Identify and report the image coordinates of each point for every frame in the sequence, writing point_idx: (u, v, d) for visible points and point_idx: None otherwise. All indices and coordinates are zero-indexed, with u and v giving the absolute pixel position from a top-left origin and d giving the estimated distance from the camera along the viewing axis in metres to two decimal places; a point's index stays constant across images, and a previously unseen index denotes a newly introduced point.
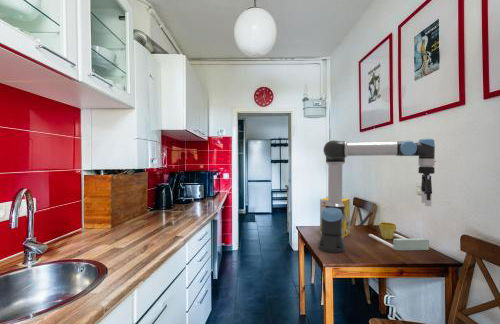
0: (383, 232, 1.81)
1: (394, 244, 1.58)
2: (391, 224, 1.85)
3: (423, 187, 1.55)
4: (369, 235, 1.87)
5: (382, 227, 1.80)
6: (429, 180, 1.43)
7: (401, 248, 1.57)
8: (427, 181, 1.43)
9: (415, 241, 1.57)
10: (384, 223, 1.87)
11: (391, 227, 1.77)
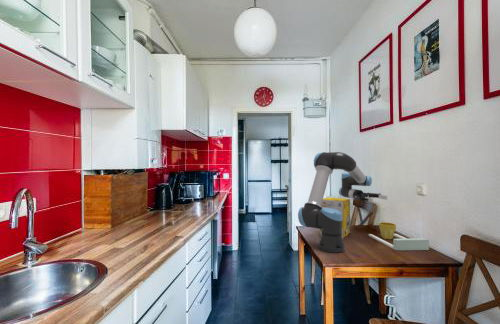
0: (383, 232, 1.81)
1: (394, 244, 1.58)
2: (391, 224, 1.85)
3: (363, 197, 1.91)
4: (369, 235, 1.87)
5: (382, 227, 1.80)
6: None
7: (401, 248, 1.57)
8: None
9: (415, 241, 1.57)
10: (384, 223, 1.87)
11: (391, 227, 1.77)
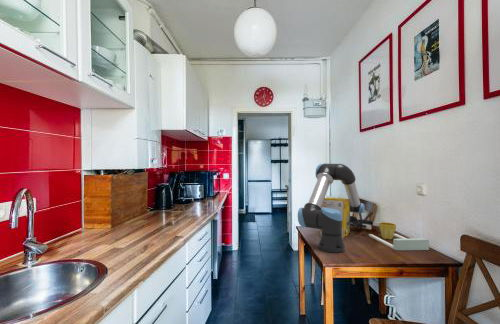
0: (383, 232, 1.81)
1: (394, 244, 1.58)
2: (391, 224, 1.85)
3: None
4: (369, 235, 1.87)
5: (382, 227, 1.80)
6: None
7: (401, 248, 1.57)
8: None
9: (415, 241, 1.57)
10: (384, 223, 1.87)
11: (391, 227, 1.77)
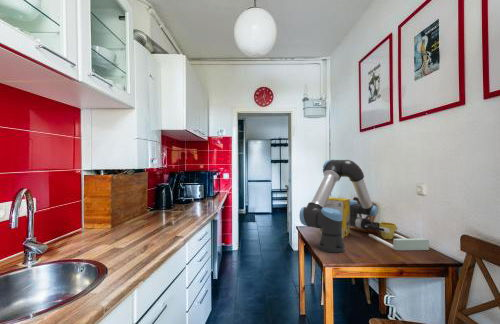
0: (383, 232, 1.81)
1: (394, 244, 1.58)
2: (391, 224, 1.85)
3: None
4: (369, 235, 1.87)
5: None
6: None
7: (401, 248, 1.57)
8: None
9: (415, 241, 1.57)
10: (384, 223, 1.87)
11: (391, 227, 1.77)
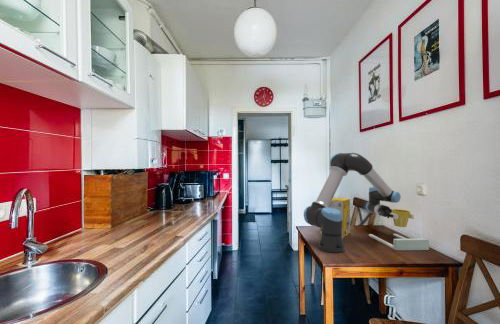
0: (394, 219, 1.69)
1: (394, 244, 1.58)
2: (407, 212, 1.69)
3: (388, 213, 1.73)
4: (369, 235, 1.87)
5: None
6: None
7: (401, 248, 1.57)
8: None
9: (415, 241, 1.57)
10: (400, 210, 1.73)
11: (401, 213, 1.64)
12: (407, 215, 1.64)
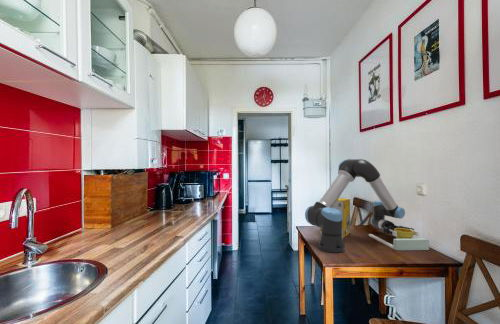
0: (396, 238, 1.66)
1: (394, 244, 1.58)
2: (411, 231, 1.66)
3: None
4: (369, 235, 1.87)
5: None
6: None
7: (401, 248, 1.57)
8: None
9: (415, 241, 1.57)
10: (404, 229, 1.70)
11: (403, 233, 1.61)
12: (410, 235, 1.61)
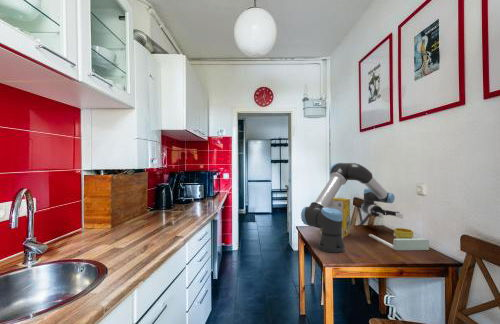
0: (396, 238, 1.66)
1: (394, 244, 1.58)
2: (410, 231, 1.66)
3: None
4: (369, 235, 1.87)
5: (395, 233, 1.66)
6: None
7: (401, 248, 1.57)
8: None
9: (415, 241, 1.57)
10: (404, 229, 1.70)
11: (403, 233, 1.61)
12: (410, 235, 1.61)
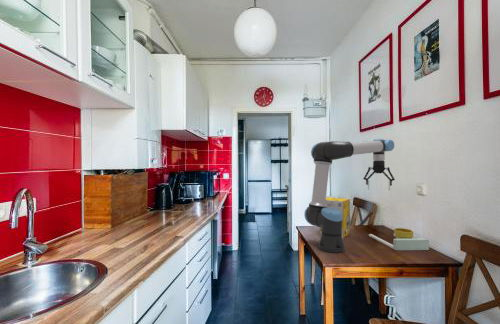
0: (396, 238, 1.66)
1: (394, 244, 1.58)
2: (410, 231, 1.66)
3: None
4: (369, 235, 1.87)
5: (395, 233, 1.66)
6: (389, 170, 1.91)
7: (401, 248, 1.57)
8: None
9: (415, 241, 1.57)
10: (404, 229, 1.70)
11: (403, 233, 1.61)
12: (410, 235, 1.61)
